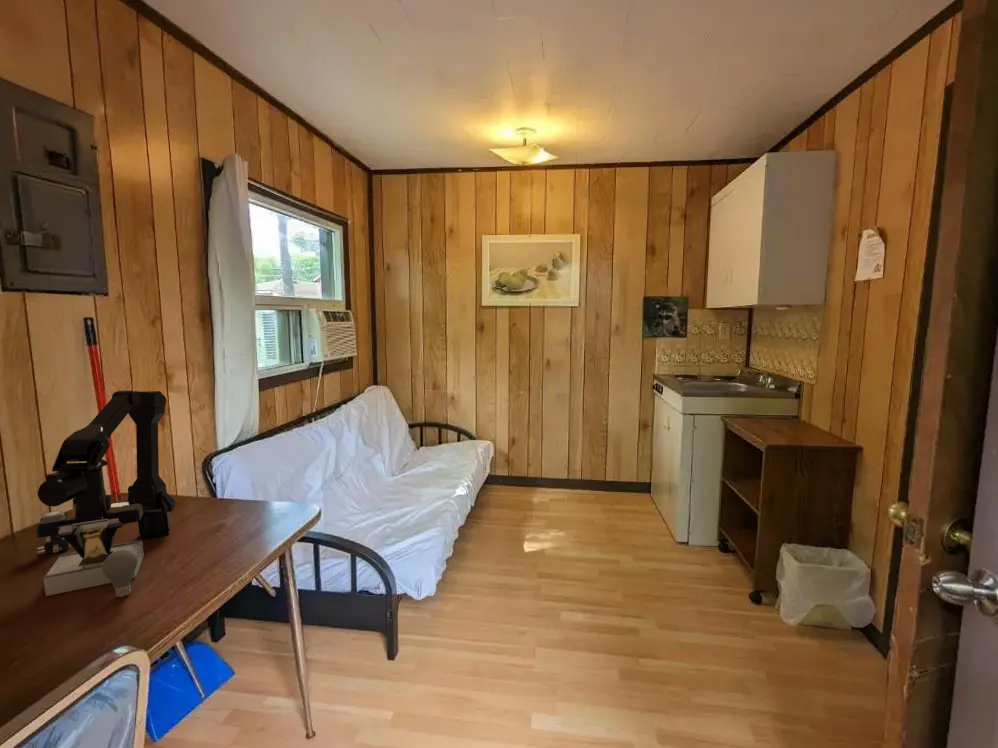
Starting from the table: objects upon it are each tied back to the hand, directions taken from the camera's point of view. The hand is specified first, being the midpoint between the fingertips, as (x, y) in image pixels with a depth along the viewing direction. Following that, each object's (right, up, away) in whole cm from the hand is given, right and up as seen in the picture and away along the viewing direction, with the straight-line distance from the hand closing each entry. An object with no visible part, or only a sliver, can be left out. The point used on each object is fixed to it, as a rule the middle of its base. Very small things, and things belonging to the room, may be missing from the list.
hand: (96, 554), depth 119 cm
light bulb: (+13, -6, -9) cm, 17 cm away
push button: (-21, -4, +13) cm, 25 cm away
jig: (0, -5, 0) cm, 5 cm away
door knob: (0, -2, 0) cm, 2 cm away
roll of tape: (-23, -2, +34) cm, 41 cm away
